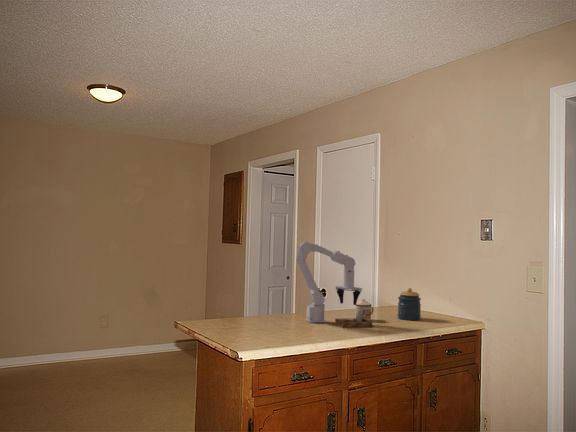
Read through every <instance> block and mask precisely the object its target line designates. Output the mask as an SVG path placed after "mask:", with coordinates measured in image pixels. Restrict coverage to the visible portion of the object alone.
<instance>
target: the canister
mask: <svg viewBox="0 0 576 432" xmlns="http://www.w3.org/2000/svg"><path fill="white" fill-rule="evenodd" d="M397 299H398V303H397V318H398V319H399V320H405V321H419V320H421V316H422V315H421V307H422V304H421V300H422V298H421V297H420V294H419V293H418V292H417V291H413V289H412V288H411V287H408V288H407V291H405V290H404V291H401V292H400V293H399V296H398V297H397Z"/></svg>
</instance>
